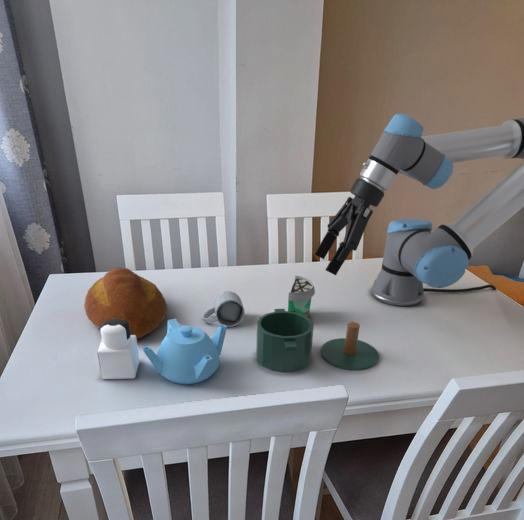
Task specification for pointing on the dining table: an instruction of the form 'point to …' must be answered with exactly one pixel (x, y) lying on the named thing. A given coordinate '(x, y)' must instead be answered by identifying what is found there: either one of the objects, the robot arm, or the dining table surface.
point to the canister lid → (350, 351)
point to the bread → (126, 301)
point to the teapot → (187, 353)
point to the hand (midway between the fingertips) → (324, 264)
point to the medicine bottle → (117, 350)
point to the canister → (284, 341)
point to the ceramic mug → (226, 310)
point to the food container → (301, 296)
